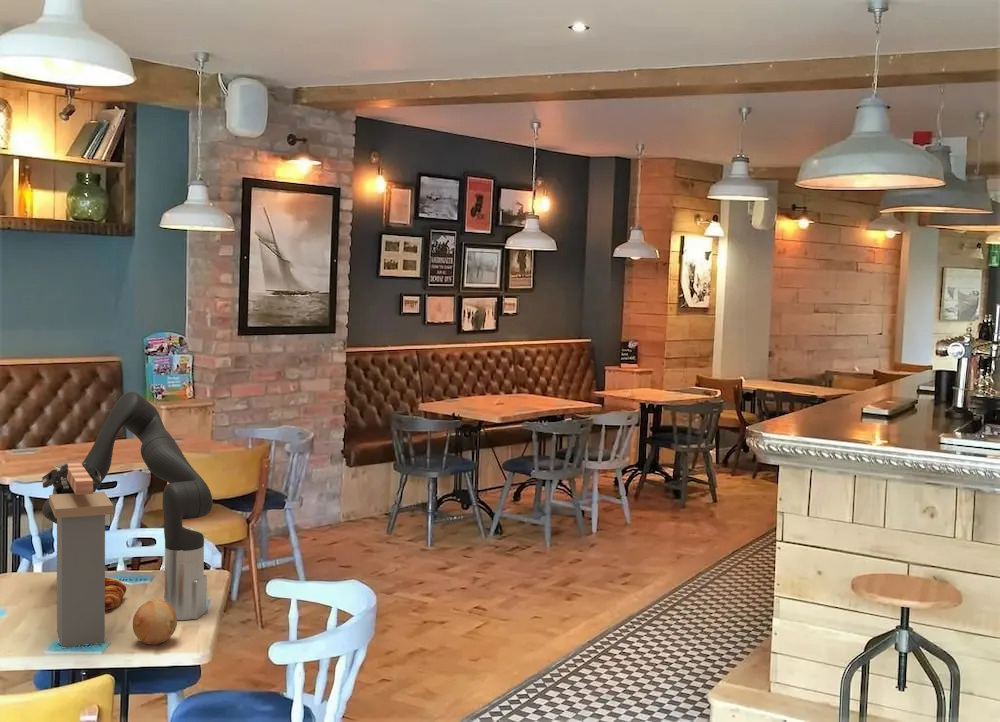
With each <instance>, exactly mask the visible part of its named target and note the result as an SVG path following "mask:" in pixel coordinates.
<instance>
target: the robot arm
mask: <svg viewBox="0 0 1000 722" xmlns="http://www.w3.org/2000/svg"><path fill="white" fill-rule="evenodd" d="M123 427H124V428H125V429H126V430H128V431H129V432H130V433H131V434H133V435H134V436H136V438H137V439H138V440H139V441H140V442H141V447H140V457H141V458H142V460H143V462H144V463H145V466H146V467H147V469H148V470H149V471H150V473H151V474H152V475H154V476H155V477H157V478H158V479H161V480H162V481H163V482H166V483H167V484H166V485H165V487H164V489H163V494H162V513H163V535H164V537H163V538H164V597H163V598H164V600H163V601H165V602H167V603H168V604H170V605H171V606H172V608H173V609H174V611H175V613H176V617H177V621H188V620H199V618H200V617H202V616H203V615H205V612H206V613H207V605H208V604H207V603H208V602H207V601H208V600H207V595H208V594H207V593H208V591H207V590H208V589H207V588H208V587H207V586H208V576H207V574H204V573H205V572H204V570H205V569H204V568H205V566H204V565H205V561H204V560H205V558H204V557H205V536H204V533H201V532H200V531H197V530H189V529H186V528H184V527H185V526H183V520H191V519H198V518H203V517H206V516H208V515H209V514H210V513H211V511H212V508H213V503H214V502H213V495H212V493H211V490H210V488H209V485H208V484H207V482H205V480H204V478H202V477H201V475H200V474H199V473H198V472H197V471H196V470H195V469H194V467H193V466H192V465H191V464H190V463H189V460H187V458H186V457H185V454H184V453H183V452H182V450H181V448H180V446H179V445H178V443H177V441H176V440H175V439H174V438H173V436H172V435H171V434H170V432H169V431H168V430H167V429H166V427H165V425H164V423H163V421H162V417H161V415H160V413H159V411H158V410H157V408H156V407H155V406H154V405H153V404H152V403H151V402H149V400H147V399H146V398H144V396H142V395H140V393H138V392H135V391H128V392H126V393H124V394H123V395H121V396H119V398H118V400H117V401H116V402H115V404H114V405H113V407H112V408H111V410H110V412H109V414H108V416H107V418H106V419H105V421H104V423H103V425H102V426H101V429H100V431H99V433H98V435H97V436H96V439H95V440H94V443H93V445H92V447H91V449H90V450H89V452H88V454H87V455H86V457H85V458H84V460H83V461H82V462H81V464H82V466H83V467H84V468H85V470H86V471H87V472H88V474H89V475H90V477H91V478H92V480H93V492H97V489H98V488H99V487H100V485H102V483H103V481H104V479H105V478H106V477H107V475H108V473H109V472H110V468H111V465H112V460H113V453H114V447H115V441H116V439H117V436H118V434H119V432H120V430H121V429H122V428H123ZM67 473H68V464H64V465H61V467H60V469H59V470H57V469H52V470H50V471H49V472H48V473H47V474H46V473H45V475H44V476H42V478H41V479H42V488H44V489H45V488H48V487H51V486H53V490H52V494H51V495H54V494H70V493H75V492H74V490H73V489H72V487H71V485H70V483H69V482H68V480H67V478H66V477H67ZM41 512H42V515H43V516H44V518H45V519H47V520H48V521H50V522H52V523H54V524H56V525H57V518H55V516H54V514H53V511H52V509H51V507H50V504H49V497H48V499H46V500H45V502H44V503H43V505H42V508H41Z"/></svg>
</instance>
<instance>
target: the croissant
mask: <svg viewBox="0 0 1000 722" xmlns="http://www.w3.org/2000/svg"><path fill="white" fill-rule="evenodd" d="M126 593H127V586H126V585H125V584H124V582H123V581H121V580H119V579H116V578H113V577H110V576H109V577H107V576H105V611H106V610H109V609H110V610H111V609H114V608H116V607H118V606H119V604H121V603H122V601H123V600H124V596H125V594H126Z"/></svg>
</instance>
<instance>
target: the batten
mask: <svg viewBox="0 0 1000 722" xmlns="http://www.w3.org/2000/svg"><path fill="white" fill-rule="evenodd" d="M64 464H68V473H67V477H66V478H67V480H68V482H69V483H70V485H71V487H72V489H73V490H74V492H75V494H76V495H87V494H93V480H92V478H91V477H90V475H89V474H88V472H87V471H86V470H85V468H84V467H83V466H82V462H81V461H70V462H69V461H67V462H64Z"/></svg>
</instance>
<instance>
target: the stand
mask: <svg viewBox="0 0 1000 722" xmlns="http://www.w3.org/2000/svg"><path fill="white" fill-rule="evenodd" d="M48 498H49V504H50V507H51V509H52V511H53V514H54V516H55V518H57V524H56V632H57V636H58V639H59V643H61V644H60V646H61V647H60V648H62V647H68V648H73V647H72V646H76V647H78V646H77V645H84V644H92V645H97V644H96V643H100V644H105V643H104V642H106V640H105V637H106V633H105V631H106V630H105V628H106V627H105V626H106V623H105V622H106V617H105V616H106V614H105V613H106V610H105V577H106V515H114V504H113V503H112V501H111V500H110V498H109V496H108V495H107V493H106V492H105V491H95V492H93V494H87V495H76V494H75V493H70V494H54V495H52V494H49V495H48ZM84 646H85V645H84Z"/></svg>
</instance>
